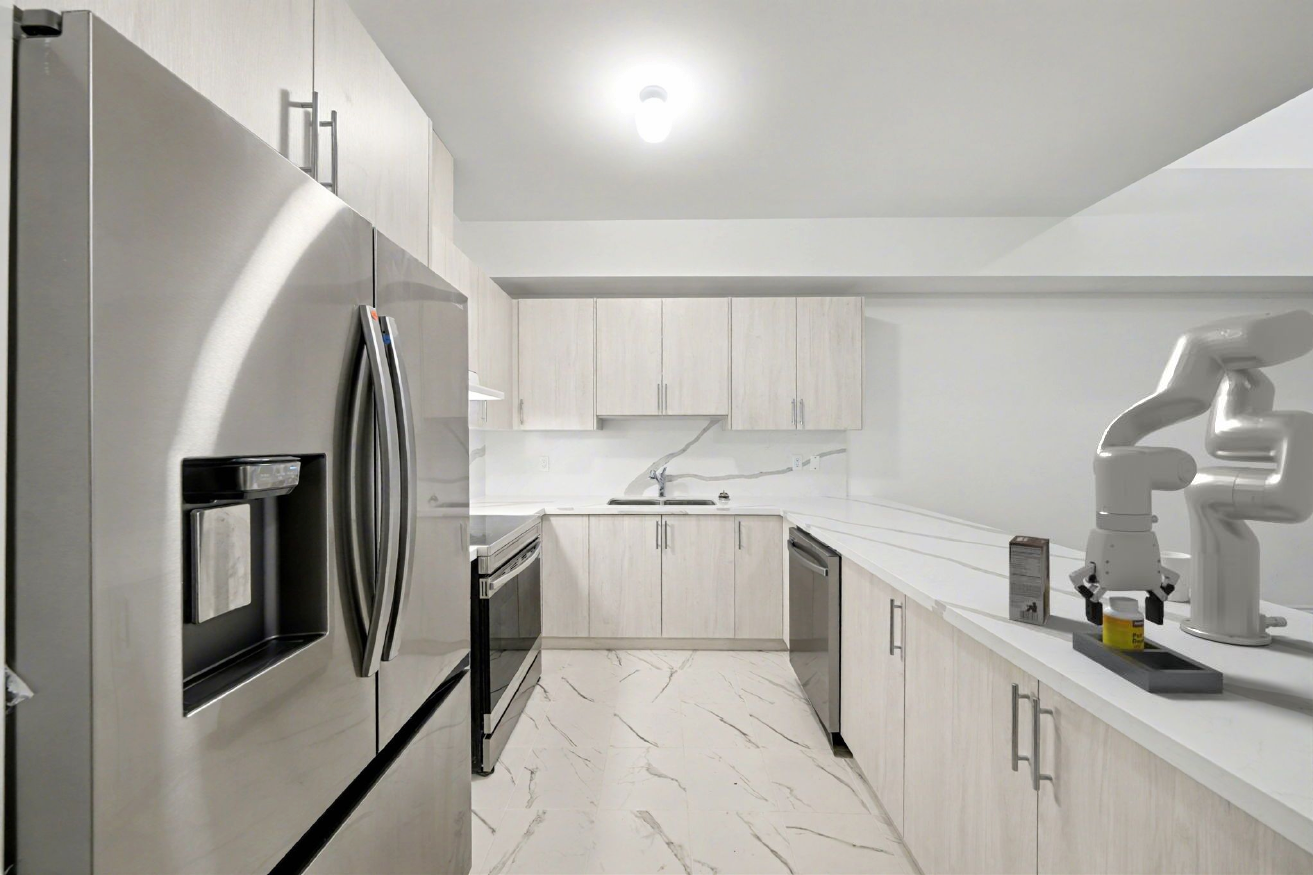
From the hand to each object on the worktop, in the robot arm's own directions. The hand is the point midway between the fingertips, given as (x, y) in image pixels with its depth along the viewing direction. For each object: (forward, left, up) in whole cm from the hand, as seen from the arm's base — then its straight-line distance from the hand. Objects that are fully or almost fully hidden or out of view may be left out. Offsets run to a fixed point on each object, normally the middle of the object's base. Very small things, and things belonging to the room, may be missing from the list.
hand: (1124, 622), depth 103 cm
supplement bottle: (0, 0, -6) cm, 6 cm away
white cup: (-35, -37, -6) cm, 52 cm away
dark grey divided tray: (+1, +5, -6) cm, 8 cm away
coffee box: (+4, -22, -6) cm, 24 cm away
